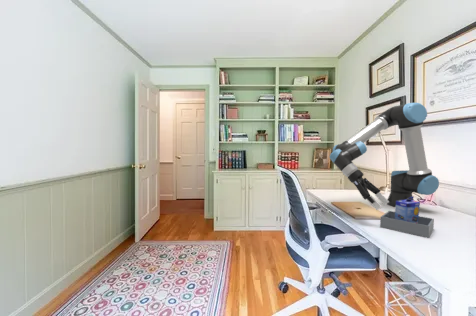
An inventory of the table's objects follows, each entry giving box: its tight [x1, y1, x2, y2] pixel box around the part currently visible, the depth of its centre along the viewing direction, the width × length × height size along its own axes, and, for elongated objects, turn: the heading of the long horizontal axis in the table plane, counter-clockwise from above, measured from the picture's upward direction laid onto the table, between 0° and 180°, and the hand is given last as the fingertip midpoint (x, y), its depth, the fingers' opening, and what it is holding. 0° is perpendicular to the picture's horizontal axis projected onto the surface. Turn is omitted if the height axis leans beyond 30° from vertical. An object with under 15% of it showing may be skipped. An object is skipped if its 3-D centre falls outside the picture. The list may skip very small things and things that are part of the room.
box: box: [379, 210, 435, 239], centre depth 109 cm, size 15×18×5 cm
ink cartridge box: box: [394, 196, 421, 224], centre depth 109 cm, size 10×6×14 cm, turn 113°
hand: (383, 206), depth 116 cm, fingers open, 13 cm apart
